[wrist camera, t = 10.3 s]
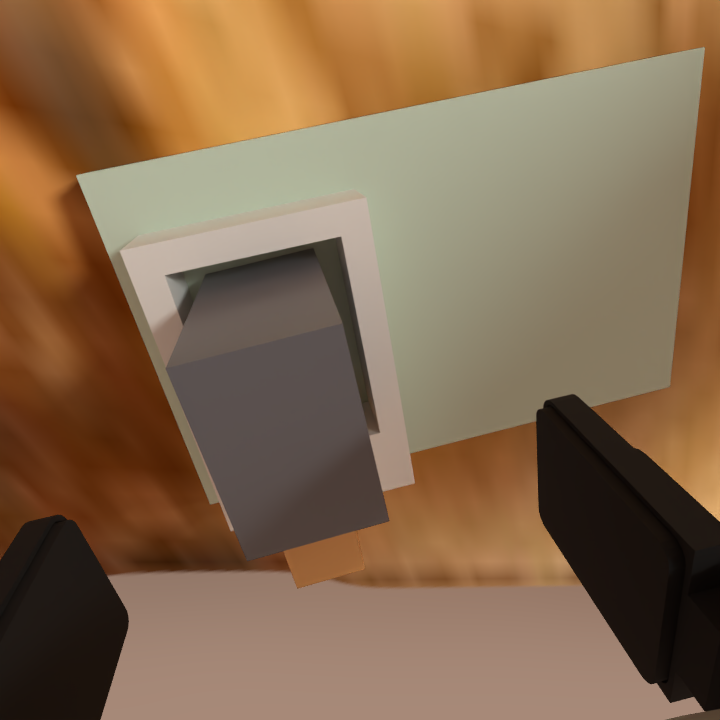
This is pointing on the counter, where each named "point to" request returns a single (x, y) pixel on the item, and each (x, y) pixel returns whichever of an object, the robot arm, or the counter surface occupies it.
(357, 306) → the board
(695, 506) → the robot arm
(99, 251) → the counter surface
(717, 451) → the counter surface
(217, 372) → the plug
